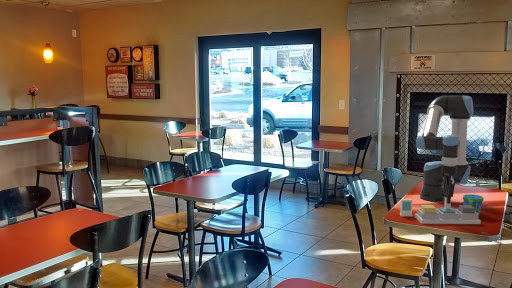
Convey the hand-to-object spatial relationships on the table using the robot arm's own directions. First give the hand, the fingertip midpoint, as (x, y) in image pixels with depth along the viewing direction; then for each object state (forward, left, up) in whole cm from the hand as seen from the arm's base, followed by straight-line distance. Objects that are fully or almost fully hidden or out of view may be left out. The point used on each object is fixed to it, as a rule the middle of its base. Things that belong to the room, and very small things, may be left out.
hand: (447, 208), depth 248 cm
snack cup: (-12, +18, -7) cm, 23 cm away
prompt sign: (-9, -19, -6) cm, 22 cm away
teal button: (0, 0, -4) cm, 4 cm away
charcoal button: (0, +10, -3) cm, 10 cm away
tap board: (0, 0, -6) cm, 6 cm away
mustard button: (0, -10, -3) cm, 10 cm away
